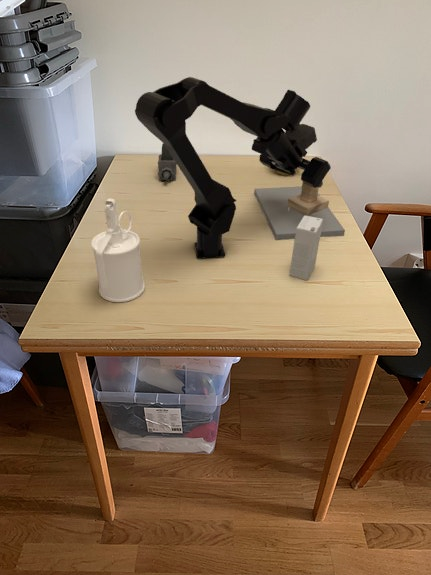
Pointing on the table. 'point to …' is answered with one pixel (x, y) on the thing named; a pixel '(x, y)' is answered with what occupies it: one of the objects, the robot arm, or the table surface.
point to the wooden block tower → (308, 201)
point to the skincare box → (305, 247)
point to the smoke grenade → (118, 259)
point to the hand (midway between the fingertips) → (307, 179)
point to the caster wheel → (166, 165)
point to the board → (291, 213)
